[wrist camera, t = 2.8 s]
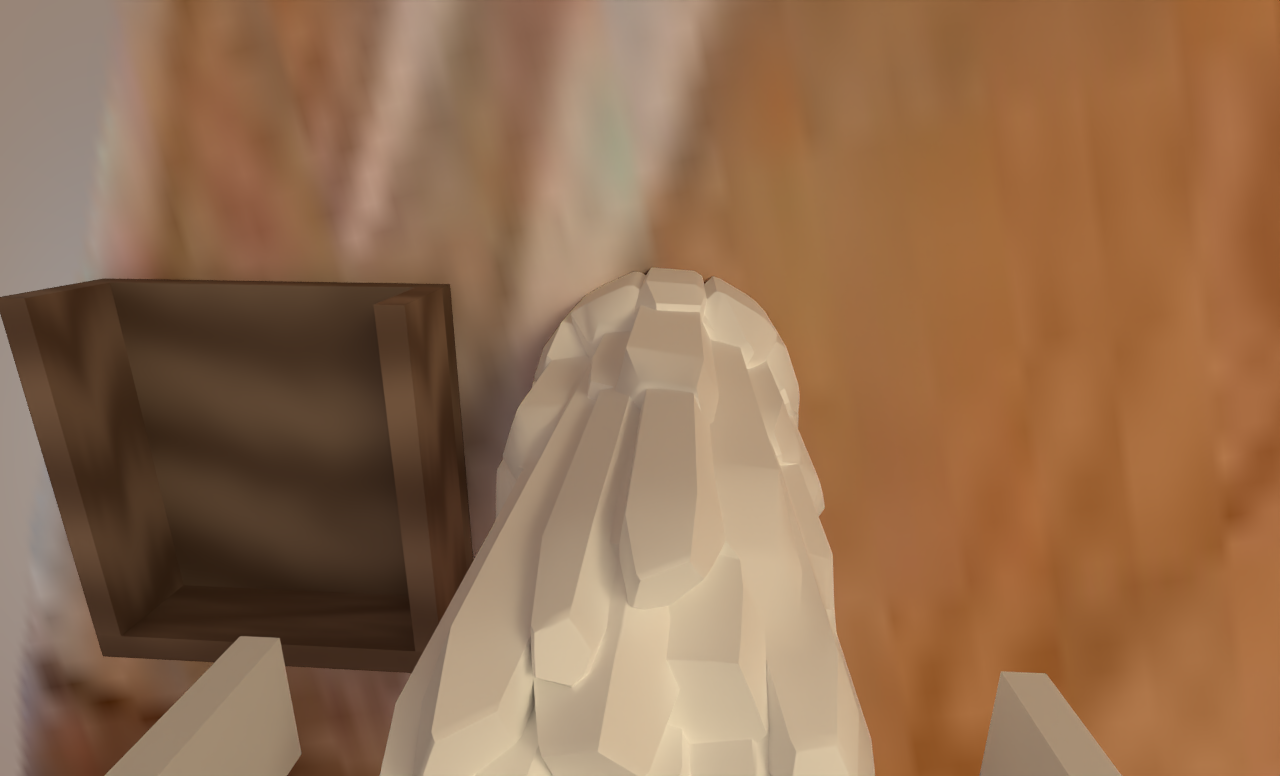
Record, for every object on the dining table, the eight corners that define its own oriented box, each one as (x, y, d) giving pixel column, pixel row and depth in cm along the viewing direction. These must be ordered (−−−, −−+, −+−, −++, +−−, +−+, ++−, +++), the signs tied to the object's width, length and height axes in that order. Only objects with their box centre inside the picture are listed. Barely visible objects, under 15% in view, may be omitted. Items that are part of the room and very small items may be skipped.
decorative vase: (540, 271, 29) (-112, 702, 5) (786, 260, 28) (1321, 717, 4) (562, 493, 32) (220, 1371, 9) (782, 490, 31) (1078, 1454, 8)
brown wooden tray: (103, 278, 30) (-5, 297, 26) (449, 284, 29) (404, 305, 25) (180, 592, 36) (102, 656, 31) (476, 606, 35) (443, 674, 30)
